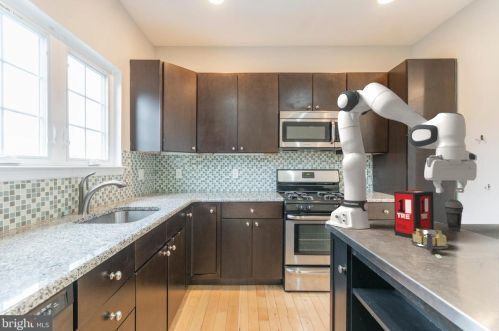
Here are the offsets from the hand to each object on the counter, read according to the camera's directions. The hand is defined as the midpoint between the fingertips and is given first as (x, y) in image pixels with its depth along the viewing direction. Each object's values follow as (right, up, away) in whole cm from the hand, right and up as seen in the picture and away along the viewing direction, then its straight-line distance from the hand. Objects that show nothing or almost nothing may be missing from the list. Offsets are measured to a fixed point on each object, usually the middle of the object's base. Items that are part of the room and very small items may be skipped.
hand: (450, 192), depth 94 cm
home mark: (-9, -22, -7) cm, 24 cm away
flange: (-3, -22, +7) cm, 23 cm away
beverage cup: (+26, -22, +30) cm, 46 cm away
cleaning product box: (+2, -22, +24) cm, 32 cm away
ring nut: (-5, -20, +4) cm, 21 cm away
